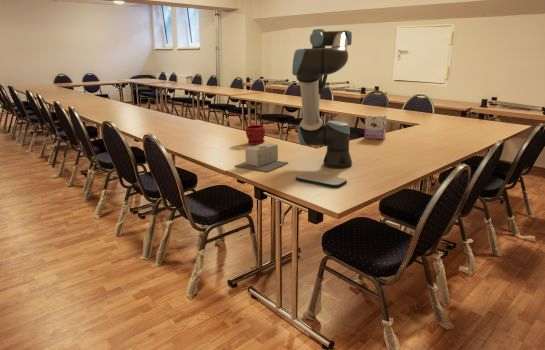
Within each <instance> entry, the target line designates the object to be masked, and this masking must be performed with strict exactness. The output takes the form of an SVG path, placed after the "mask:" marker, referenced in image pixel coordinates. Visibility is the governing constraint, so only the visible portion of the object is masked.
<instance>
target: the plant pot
mask: <svg viewBox="0 0 545 350" xmlns="http://www.w3.org/2000/svg"><path fill="white" fill-rule="evenodd" d="M245 135H246V138H247V143H248V144H249V145H252V146H255V145H259V144H263V143H265V135H266V128H265V125H261V124H252V125H248V126H246V127H245Z"/></svg>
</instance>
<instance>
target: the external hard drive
mask: <svg viewBox="0 0 545 350" xmlns="http://www.w3.org/2000/svg"><path fill="white" fill-rule="evenodd" d="M295 180H296V181H297V182H299V183H300V182H301V183H305V184H310V185H315V186H321V187H325V188H330V189H340V188H341V187H344V186H345V185H347V183H348V181H347V180H348V179H346V178H343V177H339V176H334V175H328V174H321V173H316V172H311V171H310V172H308V171H307V172H305V171H304V172H302V173H299V174H297V175H296V176H295Z"/></svg>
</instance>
